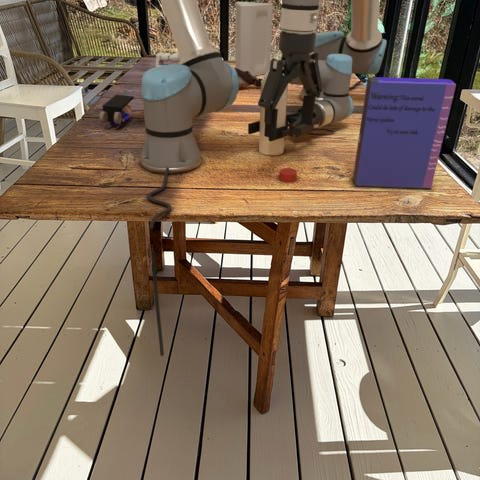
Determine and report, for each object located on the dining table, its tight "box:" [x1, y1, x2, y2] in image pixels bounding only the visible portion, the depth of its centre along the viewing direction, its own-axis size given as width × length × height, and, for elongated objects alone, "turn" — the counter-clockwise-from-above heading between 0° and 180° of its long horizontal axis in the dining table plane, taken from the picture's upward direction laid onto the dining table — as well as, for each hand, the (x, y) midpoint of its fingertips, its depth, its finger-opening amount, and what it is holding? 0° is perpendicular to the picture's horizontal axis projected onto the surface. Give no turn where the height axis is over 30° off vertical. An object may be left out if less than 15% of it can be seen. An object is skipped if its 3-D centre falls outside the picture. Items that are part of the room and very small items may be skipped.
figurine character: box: [98, 94, 135, 130], centre depth 148 cm, size 7×8×15 cm
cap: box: [278, 167, 298, 183], centre depth 115 cm, size 4×4×2 cm
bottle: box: [258, 58, 289, 156], centre depth 126 cm, size 7×7×24 cm
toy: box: [155, 51, 180, 67], centre depth 223 cm, size 24×25×7 cm
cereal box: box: [352, 76, 457, 190], centre depth 107 cm, size 17×5×24 cm, turn 86°
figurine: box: [234, 67, 262, 89], centre depth 190 cm, size 24×8×30 cm
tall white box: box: [234, 1, 274, 77], centre depth 210 cm, size 19×15×28 cm
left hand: (288, 130), depth 110 cm, fingers open, 13 cm apart
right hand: (259, 132), depth 126 cm, fingers closed on bottle, 7 cm apart
